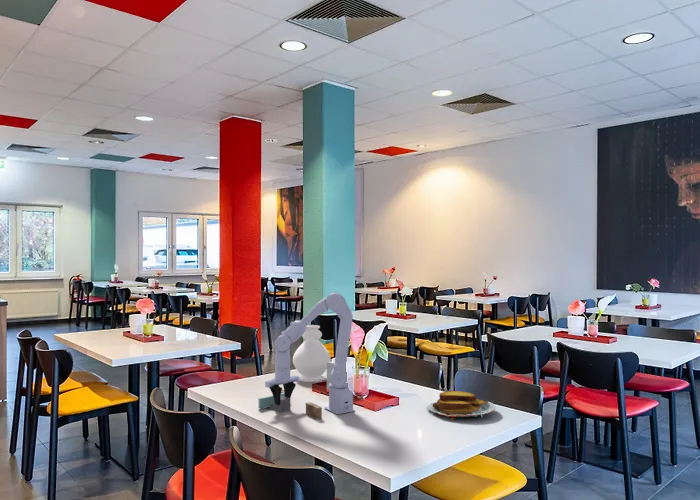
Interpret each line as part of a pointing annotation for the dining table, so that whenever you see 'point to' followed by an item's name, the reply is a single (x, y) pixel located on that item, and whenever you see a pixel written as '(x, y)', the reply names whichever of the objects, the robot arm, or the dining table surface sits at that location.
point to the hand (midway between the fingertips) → (282, 403)
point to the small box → (329, 368)
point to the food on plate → (460, 405)
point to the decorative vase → (311, 356)
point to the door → (266, 401)
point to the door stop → (282, 404)
